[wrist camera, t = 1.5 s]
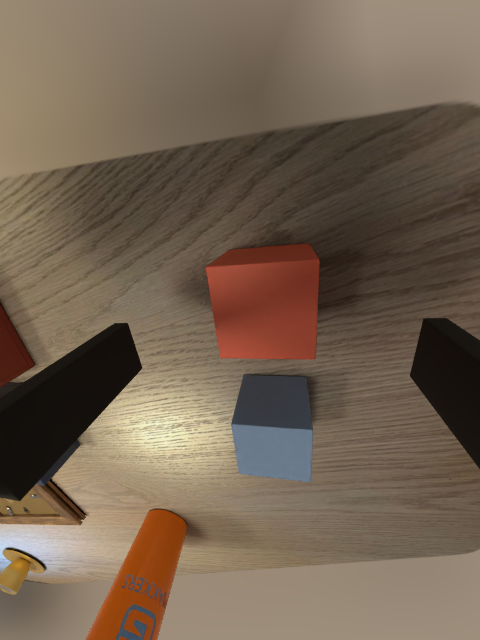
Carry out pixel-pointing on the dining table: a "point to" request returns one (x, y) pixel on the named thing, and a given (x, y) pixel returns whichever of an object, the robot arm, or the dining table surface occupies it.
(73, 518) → the picture frame
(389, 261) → the dining table surface
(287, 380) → the blue block
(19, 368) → the red bin
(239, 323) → the red block
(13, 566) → the cup
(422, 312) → the dining table surface
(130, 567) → the shaker bottle
